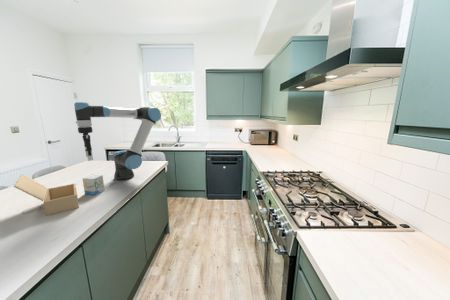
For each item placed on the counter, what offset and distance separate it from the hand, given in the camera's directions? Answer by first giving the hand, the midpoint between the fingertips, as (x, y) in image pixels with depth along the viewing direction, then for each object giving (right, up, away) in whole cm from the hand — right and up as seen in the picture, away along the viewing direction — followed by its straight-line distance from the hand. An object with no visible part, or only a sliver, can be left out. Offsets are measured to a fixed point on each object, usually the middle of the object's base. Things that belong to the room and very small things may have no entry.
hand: (89, 158), depth 128 cm
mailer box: (-8, -27, -11) cm, 31 cm away
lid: (-17, -15, -21) cm, 31 cm away
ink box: (0, -24, +5) cm, 25 cm away
